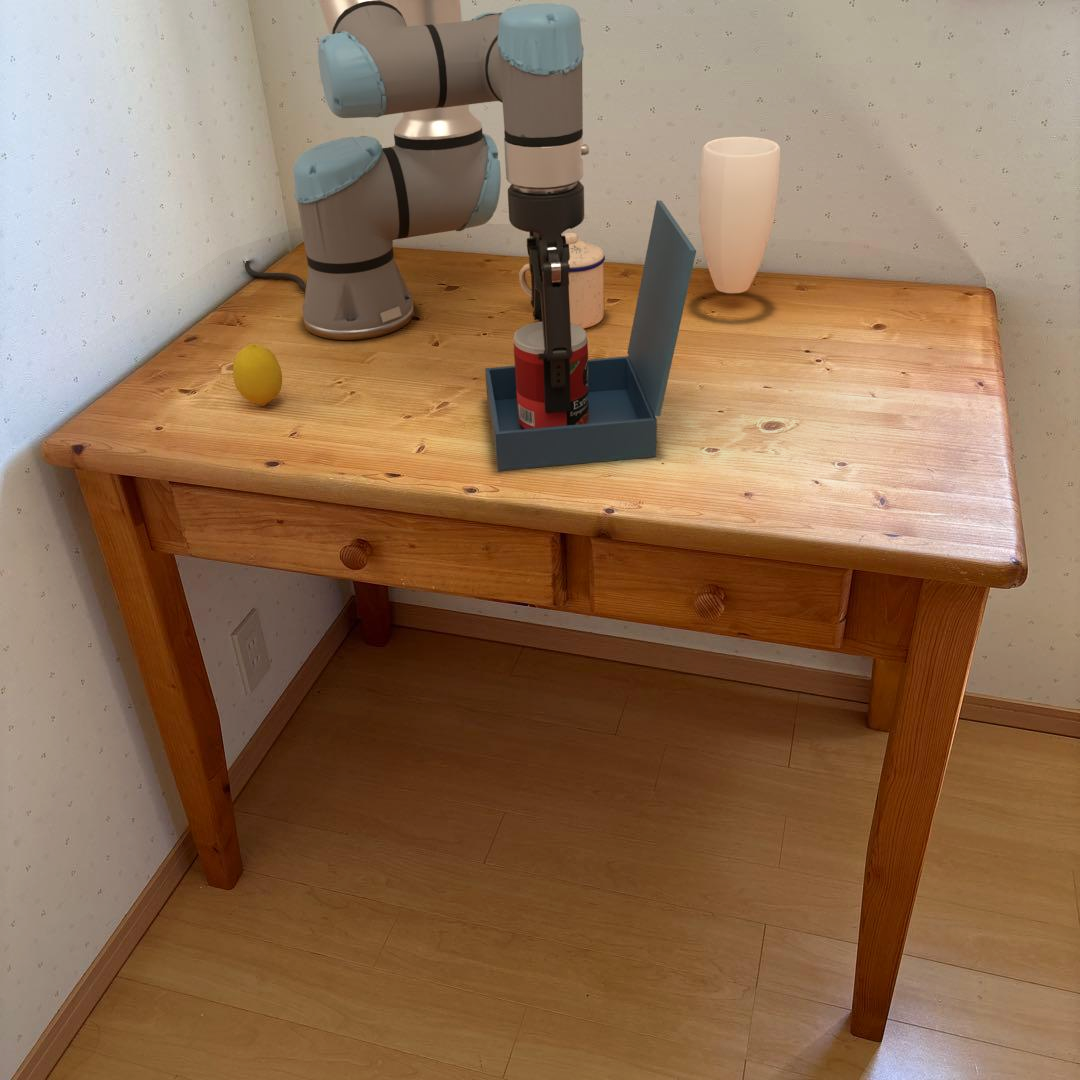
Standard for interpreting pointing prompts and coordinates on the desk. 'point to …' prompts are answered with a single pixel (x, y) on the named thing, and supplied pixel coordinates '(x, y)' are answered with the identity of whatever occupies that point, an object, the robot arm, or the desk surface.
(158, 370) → the desk surface
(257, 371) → the lemon
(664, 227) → the lunchbox lid
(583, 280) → the teacup with lid
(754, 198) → the cup
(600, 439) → the box
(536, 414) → the canned food
